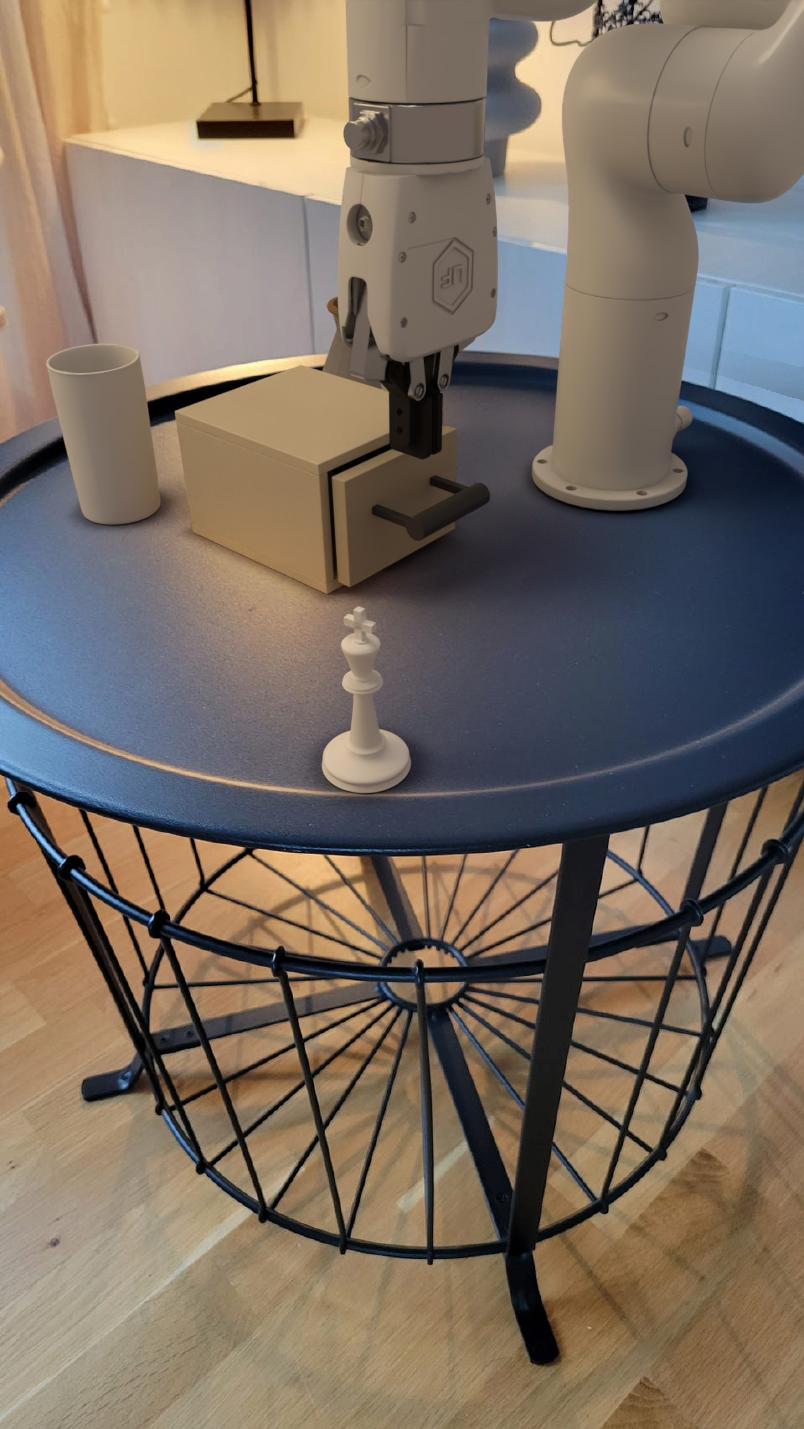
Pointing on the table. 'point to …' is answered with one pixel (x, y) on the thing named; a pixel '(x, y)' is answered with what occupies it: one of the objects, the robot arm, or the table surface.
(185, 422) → the cabinet
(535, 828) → the table surface
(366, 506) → the drawer
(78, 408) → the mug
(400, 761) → the chess piece
